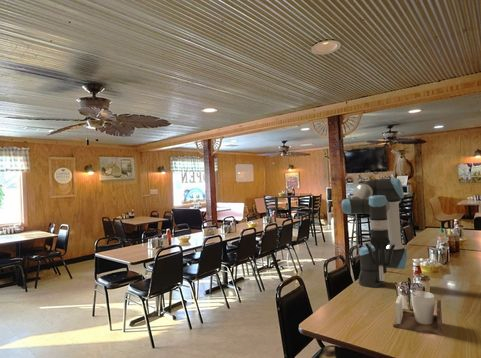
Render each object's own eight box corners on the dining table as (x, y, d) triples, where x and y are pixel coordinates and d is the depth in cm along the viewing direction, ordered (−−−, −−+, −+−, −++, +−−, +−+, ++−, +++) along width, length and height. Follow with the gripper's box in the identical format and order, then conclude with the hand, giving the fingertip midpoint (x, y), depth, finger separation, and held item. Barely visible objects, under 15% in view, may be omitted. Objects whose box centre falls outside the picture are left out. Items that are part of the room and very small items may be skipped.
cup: (415, 315, 150) (413, 289, 150) (437, 320, 144) (436, 293, 144) (410, 322, 143) (408, 295, 143) (433, 328, 137) (432, 299, 137)
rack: (393, 326, 143) (391, 303, 143) (397, 315, 154) (396, 294, 154) (441, 335, 133) (440, 310, 133) (442, 323, 144) (440, 299, 144)
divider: (396, 323, 143) (395, 302, 143) (399, 314, 151) (398, 295, 152) (400, 324, 142) (399, 303, 142) (403, 315, 151) (402, 295, 151)
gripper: (362, 229, 151) (365, 280, 151) (393, 230, 144) (396, 284, 144) (365, 227, 157) (368, 276, 157) (396, 228, 150) (399, 279, 150)
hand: (382, 279), depth 150 cm, fingers closed
